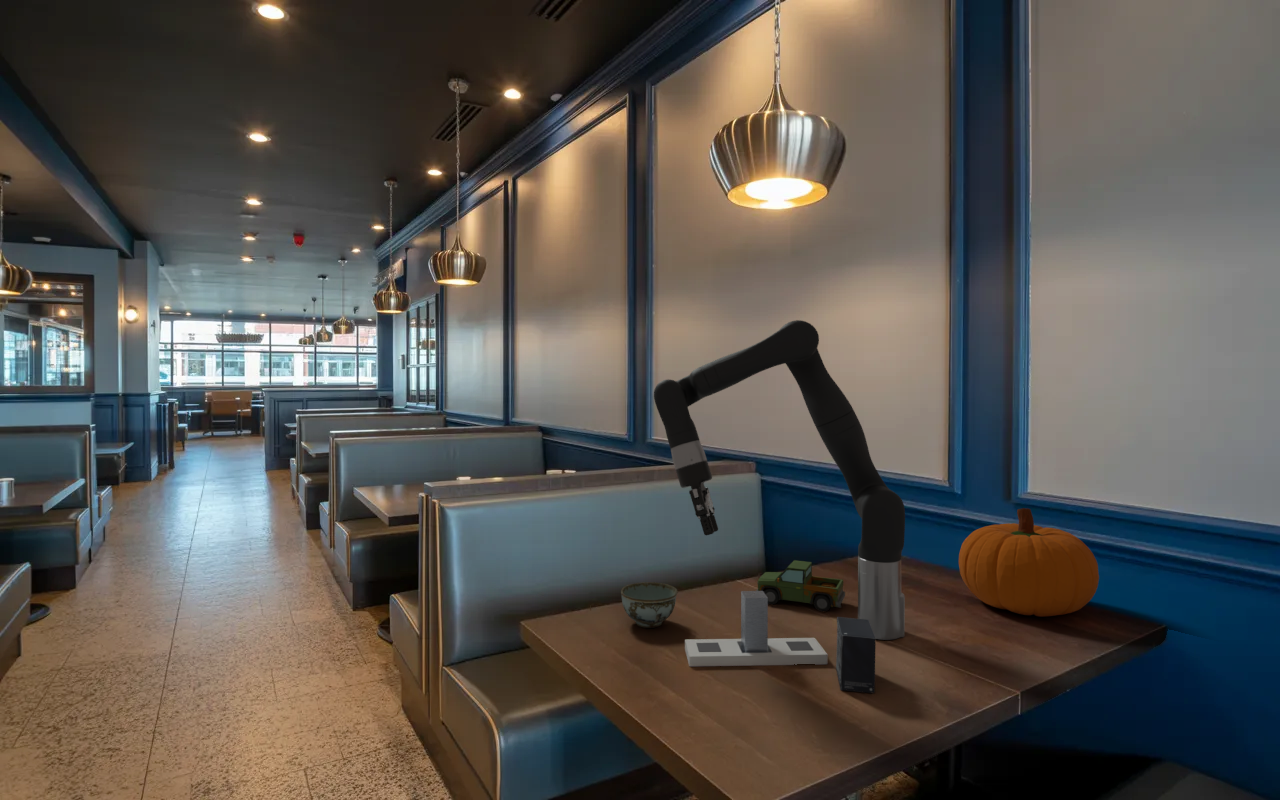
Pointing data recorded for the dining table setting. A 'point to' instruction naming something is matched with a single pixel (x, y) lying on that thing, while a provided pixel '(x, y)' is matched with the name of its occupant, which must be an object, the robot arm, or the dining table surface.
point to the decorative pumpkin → (1028, 568)
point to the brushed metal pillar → (754, 622)
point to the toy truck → (802, 587)
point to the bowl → (649, 602)
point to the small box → (855, 655)
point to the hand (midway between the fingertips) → (712, 533)
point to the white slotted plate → (731, 655)
